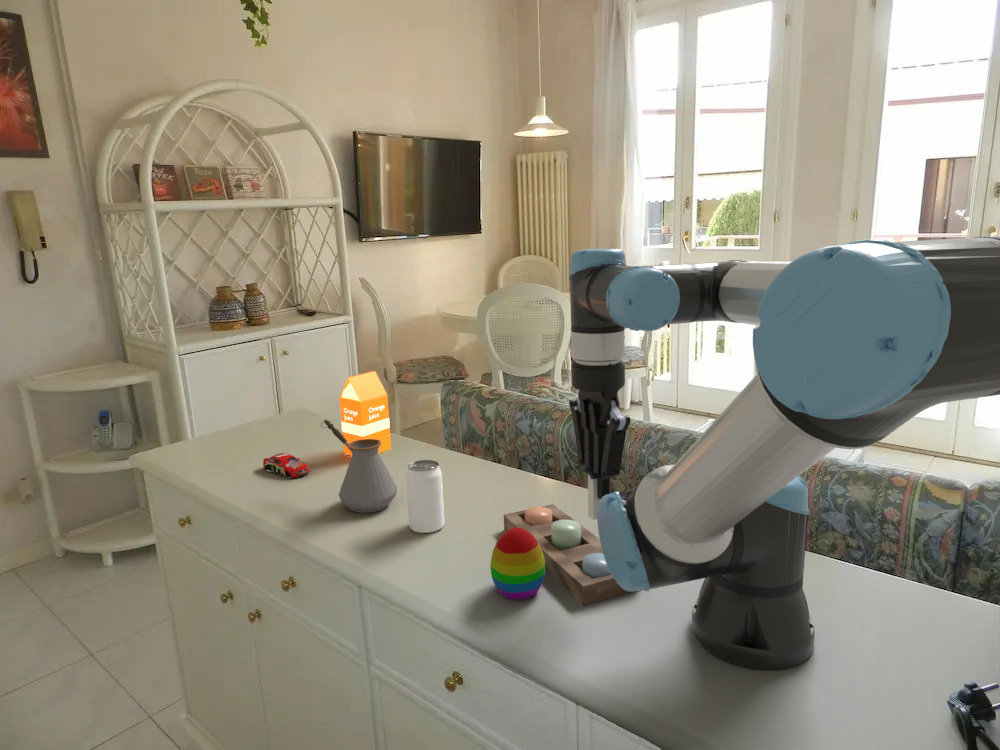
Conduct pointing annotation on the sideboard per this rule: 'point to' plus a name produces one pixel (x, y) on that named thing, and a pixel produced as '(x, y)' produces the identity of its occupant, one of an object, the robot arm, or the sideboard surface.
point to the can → (425, 496)
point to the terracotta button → (538, 516)
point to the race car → (286, 465)
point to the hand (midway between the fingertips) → (598, 516)
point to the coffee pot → (365, 476)
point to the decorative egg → (517, 564)
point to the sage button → (565, 534)
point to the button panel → (569, 558)
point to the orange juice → (365, 411)
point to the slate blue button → (595, 565)
